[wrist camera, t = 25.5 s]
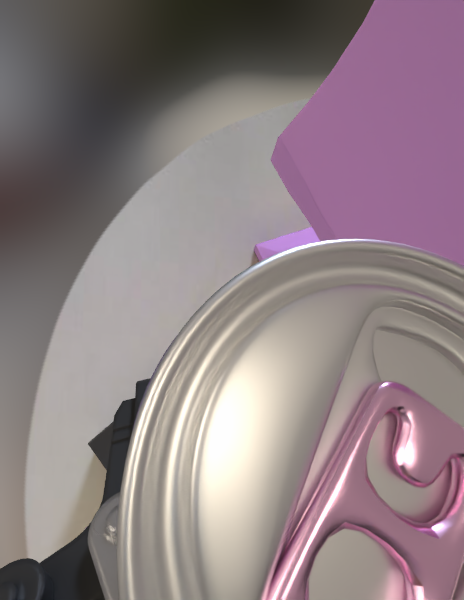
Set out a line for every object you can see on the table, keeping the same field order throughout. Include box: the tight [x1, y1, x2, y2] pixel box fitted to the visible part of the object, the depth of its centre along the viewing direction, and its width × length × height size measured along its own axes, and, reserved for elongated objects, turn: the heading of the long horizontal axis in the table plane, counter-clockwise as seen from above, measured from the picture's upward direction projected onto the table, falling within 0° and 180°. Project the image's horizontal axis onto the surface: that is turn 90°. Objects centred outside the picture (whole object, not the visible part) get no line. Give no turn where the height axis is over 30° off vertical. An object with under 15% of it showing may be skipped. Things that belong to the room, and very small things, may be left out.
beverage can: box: [117, 239, 464, 600], centre depth 10 cm, size 6×6×15 cm
